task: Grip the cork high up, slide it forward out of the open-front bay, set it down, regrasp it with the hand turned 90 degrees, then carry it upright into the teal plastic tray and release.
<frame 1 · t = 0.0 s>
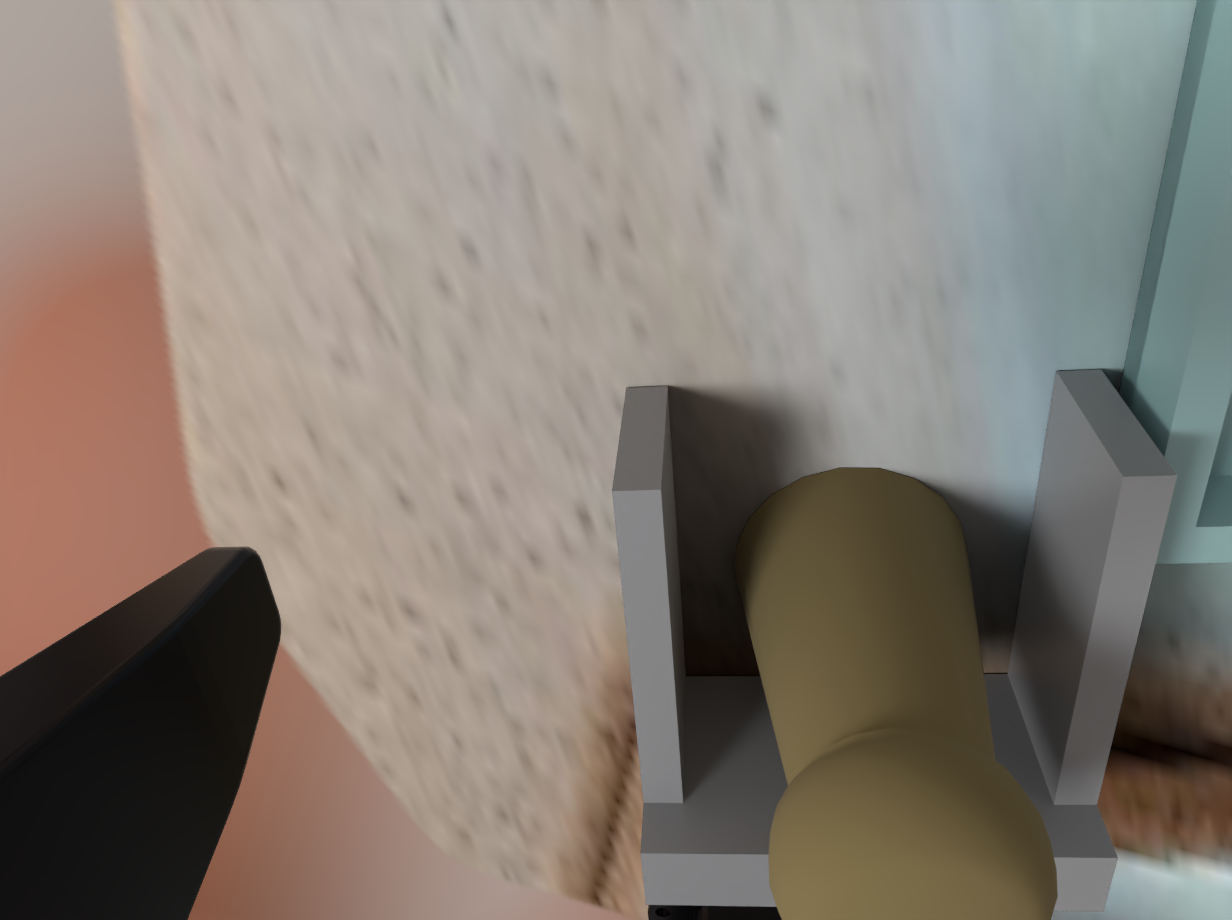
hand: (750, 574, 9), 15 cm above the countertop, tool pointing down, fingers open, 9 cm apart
bay: (849, 563, 27), on the countertop
cork: (848, 558, 27), on the countertop
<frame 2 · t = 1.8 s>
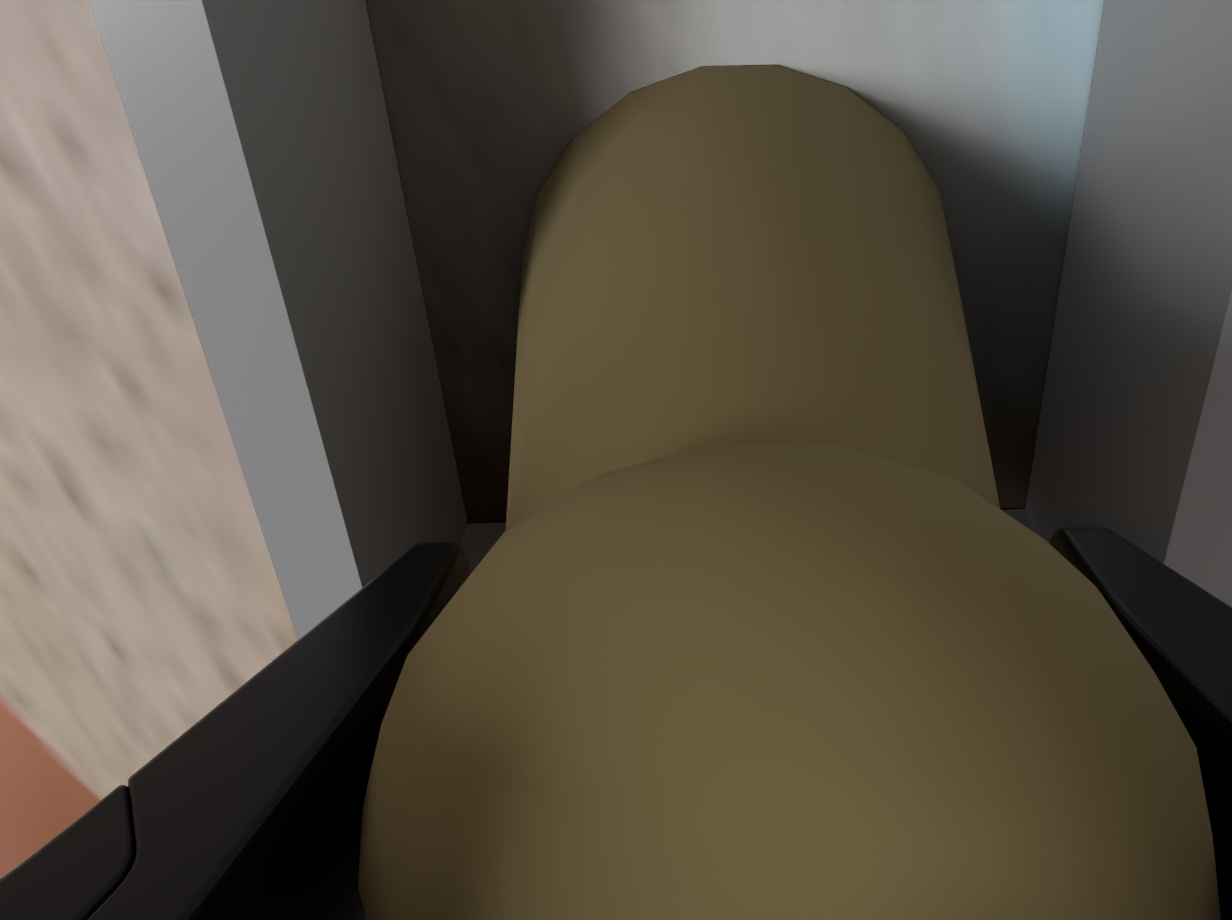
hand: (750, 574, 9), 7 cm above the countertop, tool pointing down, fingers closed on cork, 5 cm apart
bay: (732, 286, 15), on the countertop
cork: (732, 281, 15), on the countertop, touching gripper
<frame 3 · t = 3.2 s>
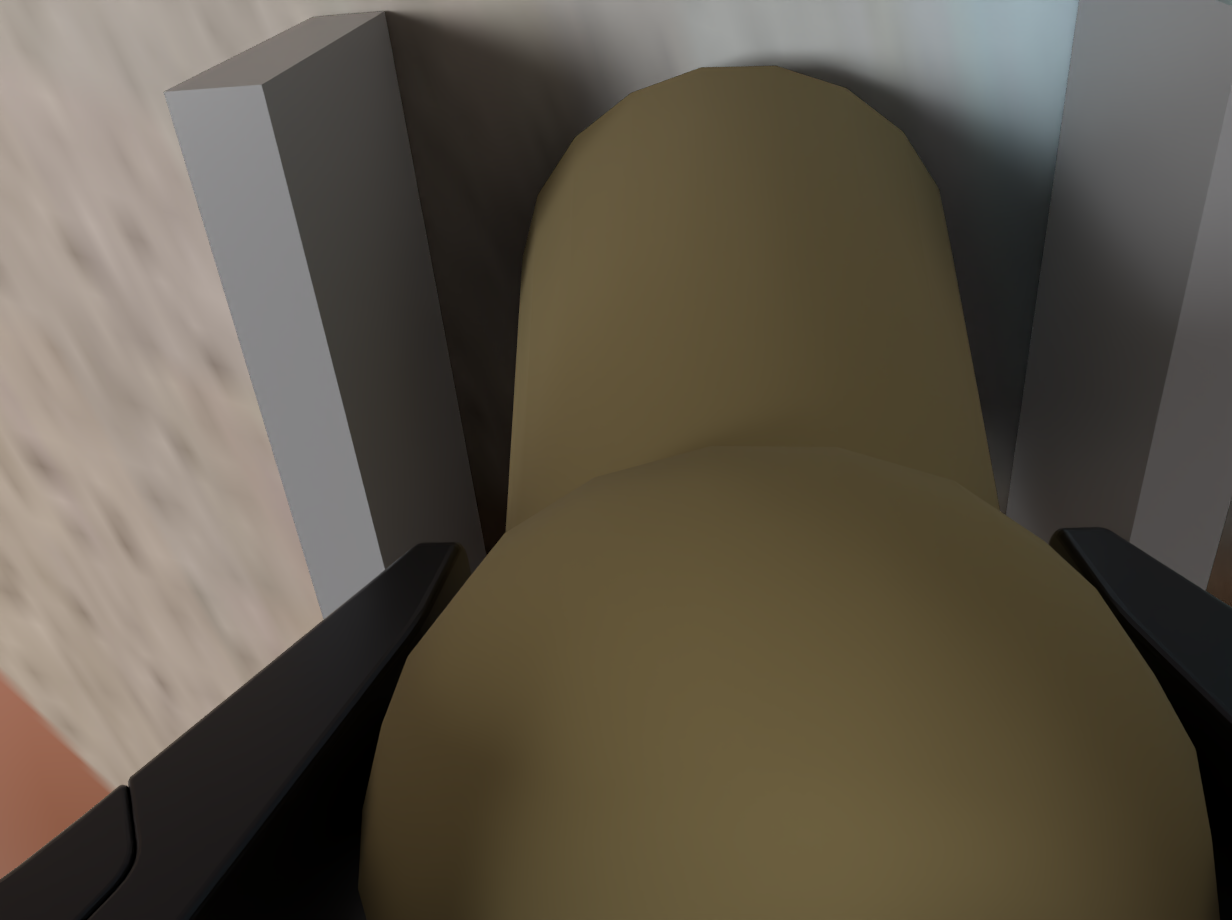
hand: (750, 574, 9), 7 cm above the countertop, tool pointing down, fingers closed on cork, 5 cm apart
bay: (732, 365, 16), on the countertop
cork: (732, 281, 15), point 1 cm above the countertop, touching gripper
when the fingers open (7 cm above the countertop, at t = 4.8 s): cork stays where it is, on the countertop.
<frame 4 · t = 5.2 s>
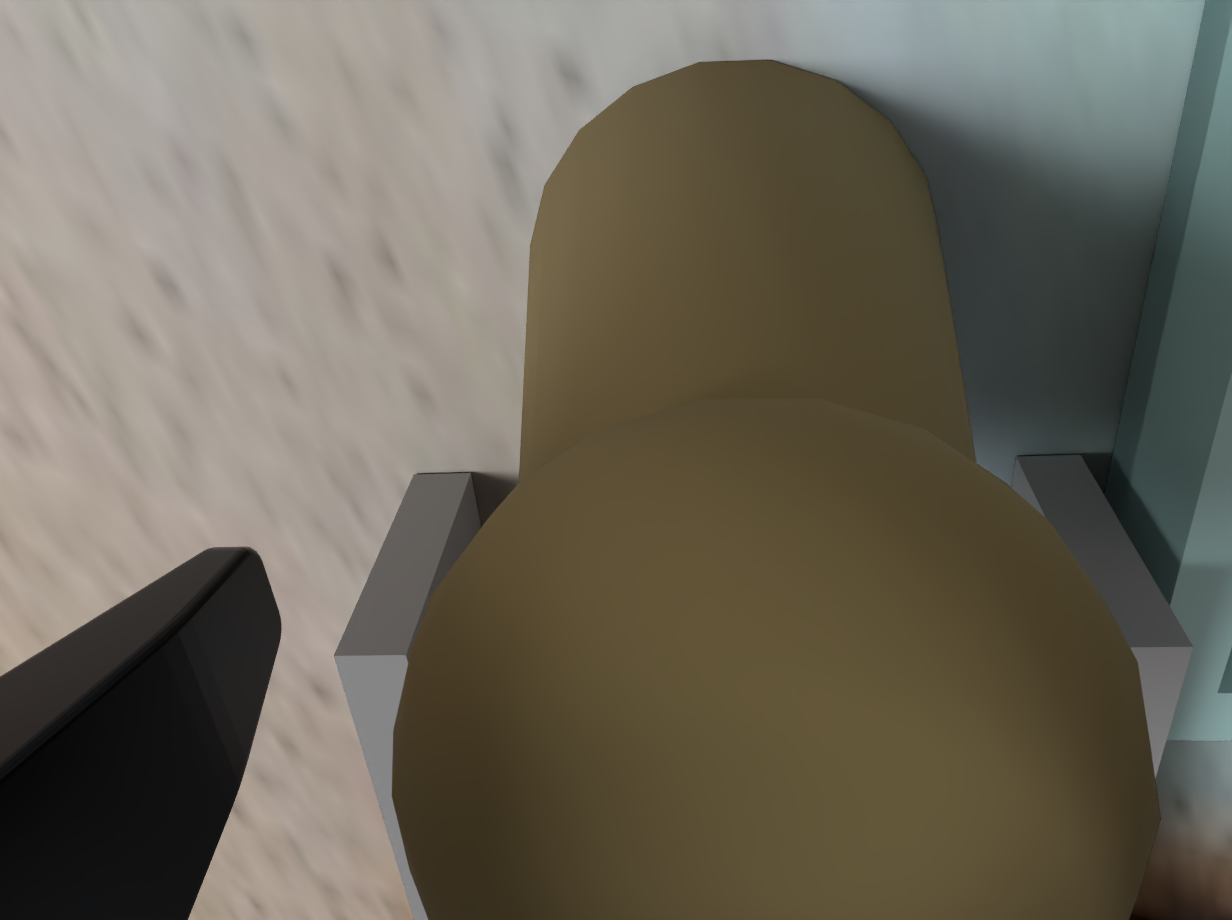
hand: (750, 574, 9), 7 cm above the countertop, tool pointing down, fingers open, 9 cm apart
bay: (741, 703, 20), on the countertop
cork: (730, 267, 15), on the countertop
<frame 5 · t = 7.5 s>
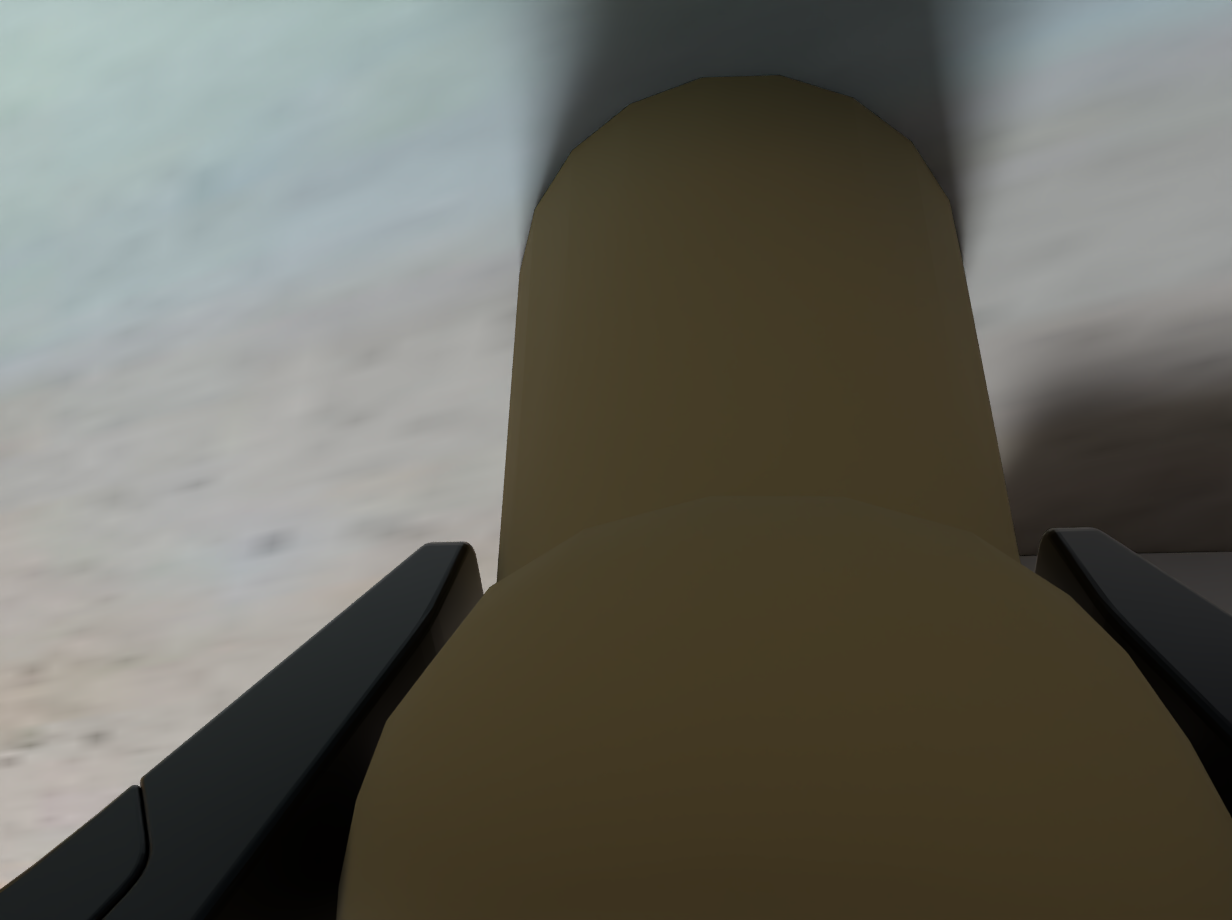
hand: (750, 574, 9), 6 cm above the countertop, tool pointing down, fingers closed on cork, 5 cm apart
cork: (736, 297, 14), on the countertop, touching gripper
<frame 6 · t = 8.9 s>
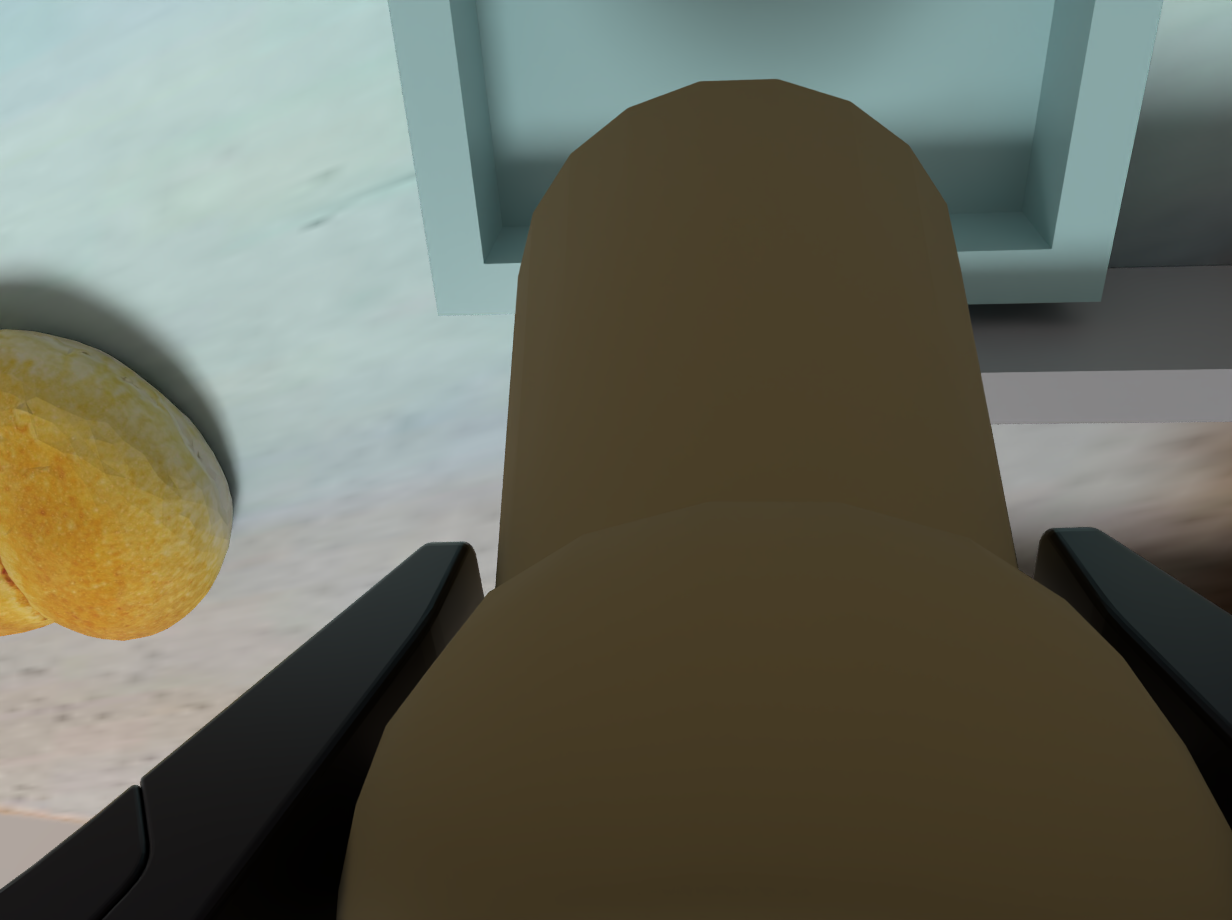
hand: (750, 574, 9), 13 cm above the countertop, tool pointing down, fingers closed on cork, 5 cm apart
bay: (1101, 494, 23), on the countertop
bread roll: (64, 466, 26), on the countertop
cork: (734, 299, 14), point 7 cm above the countertop, touching gripper
when the fingers open (7 cm above the countertop, at t = 10.6 s): cork stays where it is, resting on tray.
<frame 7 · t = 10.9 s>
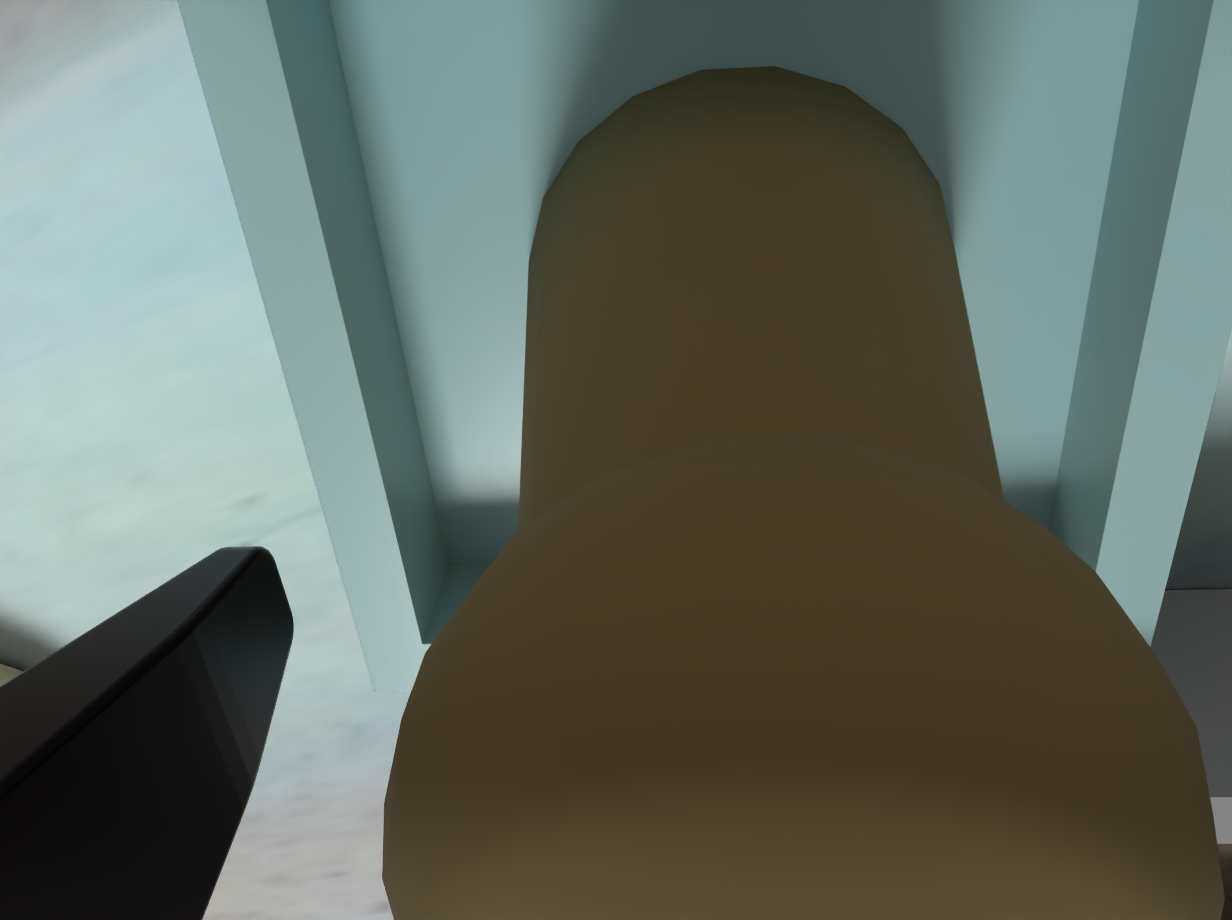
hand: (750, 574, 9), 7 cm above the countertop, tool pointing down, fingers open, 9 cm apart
tray: (729, 261, 15), on the countertop
bay: (1139, 800, 21), on the countertop
cork: (737, 280, 15), point 1 cm above the countertop, touching tray
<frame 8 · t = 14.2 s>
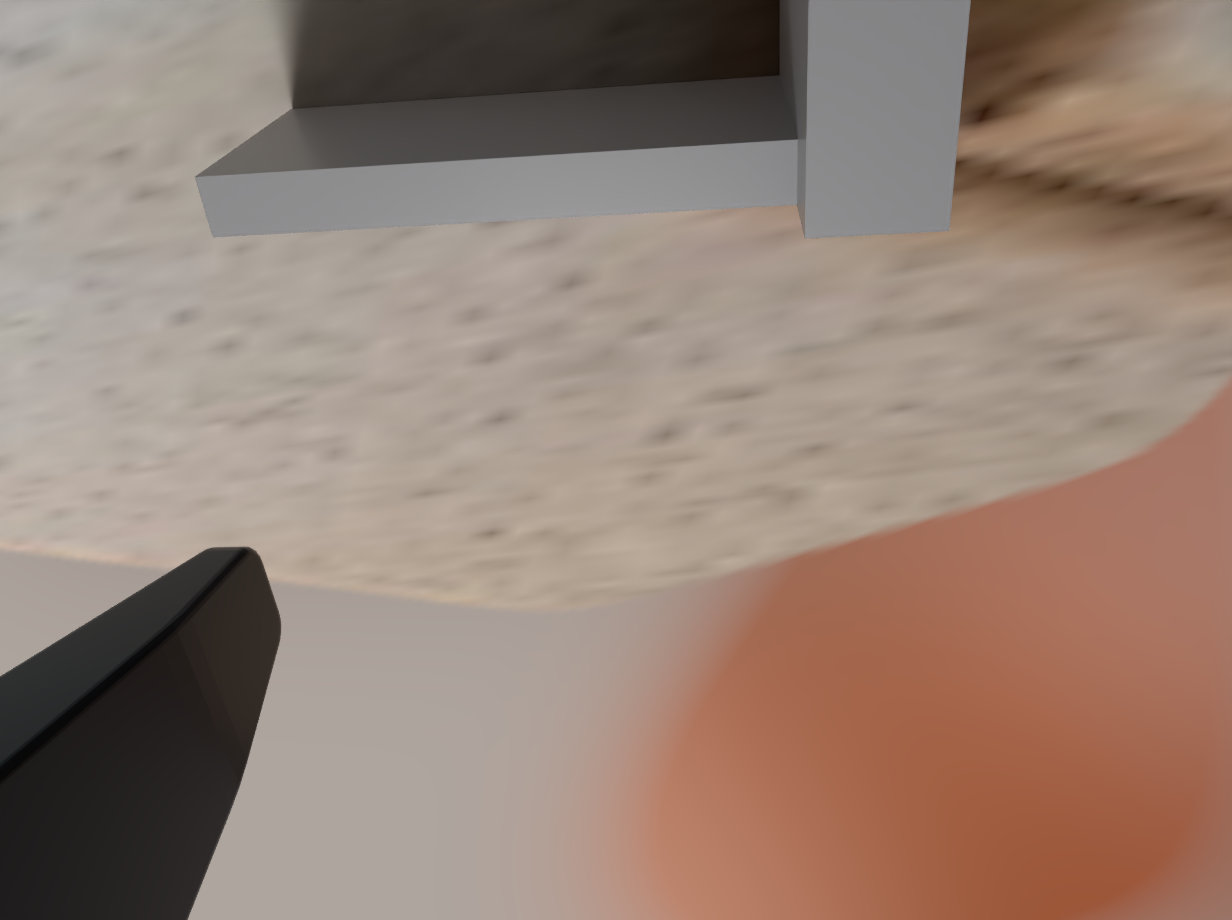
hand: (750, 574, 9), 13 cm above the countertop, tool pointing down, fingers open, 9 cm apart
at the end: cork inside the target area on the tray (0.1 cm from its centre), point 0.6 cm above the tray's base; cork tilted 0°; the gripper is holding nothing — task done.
